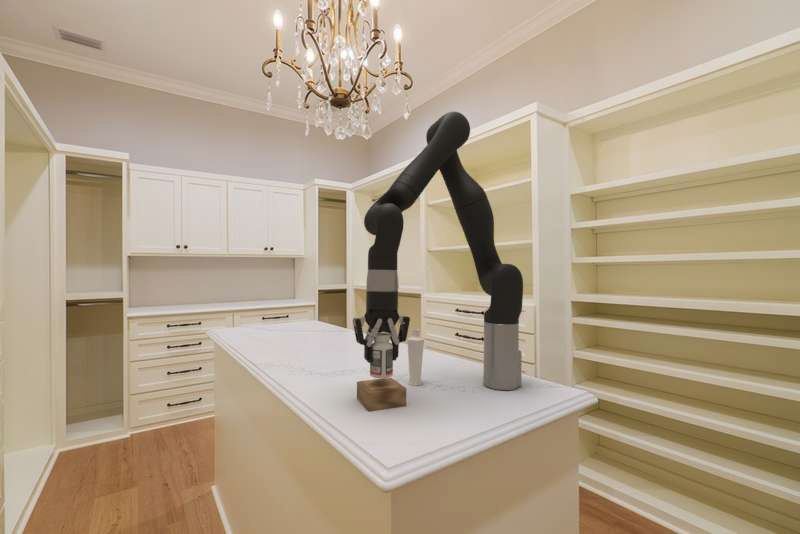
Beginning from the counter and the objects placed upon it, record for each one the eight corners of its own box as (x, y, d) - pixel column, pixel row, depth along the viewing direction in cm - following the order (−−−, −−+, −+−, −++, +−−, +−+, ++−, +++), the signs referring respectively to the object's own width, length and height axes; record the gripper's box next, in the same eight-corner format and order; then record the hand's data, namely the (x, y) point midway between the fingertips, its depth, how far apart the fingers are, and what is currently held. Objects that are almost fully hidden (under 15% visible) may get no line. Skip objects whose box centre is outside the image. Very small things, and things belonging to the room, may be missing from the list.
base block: (391, 393, 92) (391, 376, 92) (406, 405, 84) (406, 387, 84) (356, 398, 88) (357, 380, 88) (368, 411, 80) (368, 391, 80)
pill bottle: (388, 371, 90) (389, 331, 90) (395, 377, 85) (396, 335, 85) (367, 373, 88) (367, 332, 88) (373, 379, 83) (373, 336, 83)
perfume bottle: (422, 386, 98) (422, 330, 98) (406, 385, 99) (406, 330, 99) (424, 381, 103) (425, 328, 103) (409, 380, 104) (409, 327, 104)
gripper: (403, 288, 93) (402, 355, 93) (348, 288, 87) (347, 360, 87) (416, 289, 86) (415, 362, 86) (357, 290, 80) (356, 367, 80)
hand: (381, 360), depth 86 cm, fingers closed on pill bottle, 5 cm apart
